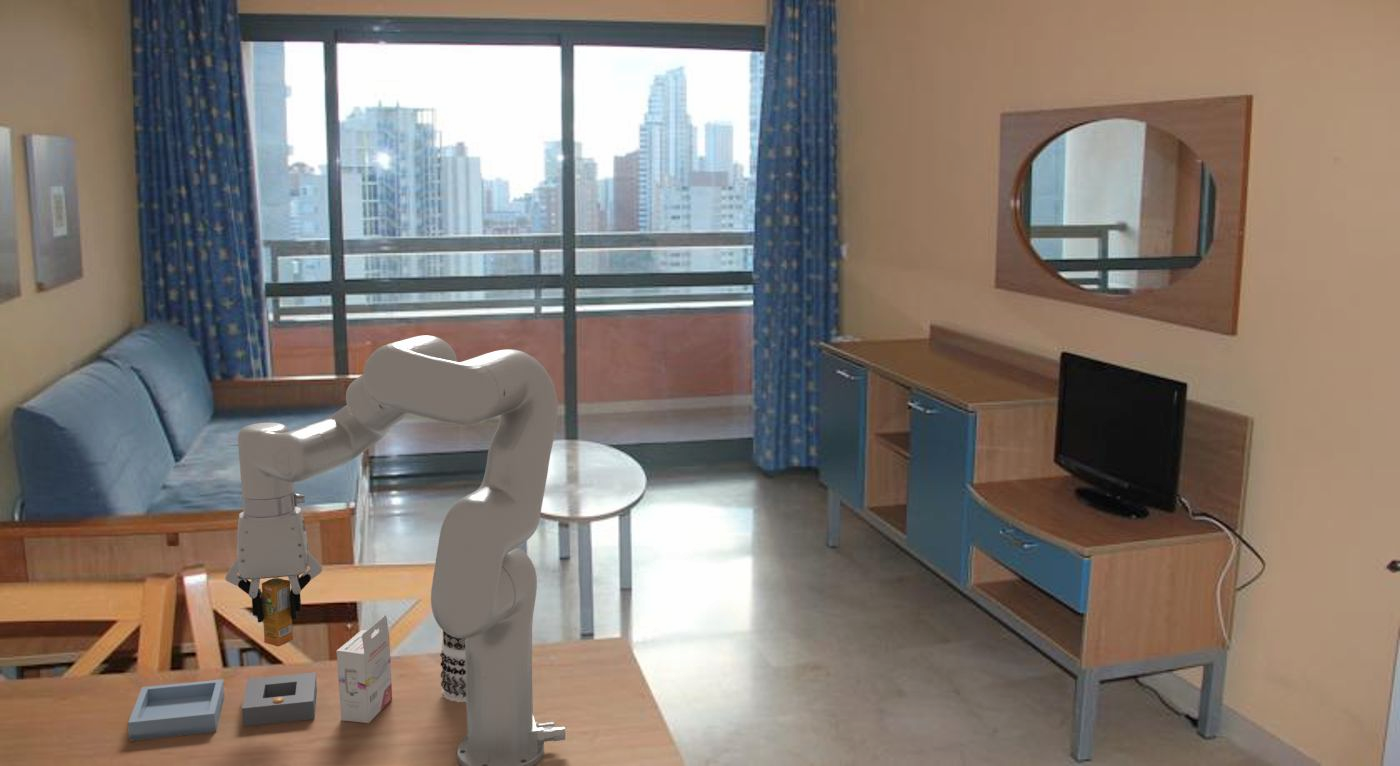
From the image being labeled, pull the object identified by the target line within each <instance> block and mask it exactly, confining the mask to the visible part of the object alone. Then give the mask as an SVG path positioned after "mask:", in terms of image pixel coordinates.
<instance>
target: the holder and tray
mask: <svg viewBox="0 0 1400 766" xmlns="http://www.w3.org/2000/svg"><path fill="white" fill-rule="evenodd" d="M224 684H225V683H224V679H223V678H221V679H213V680H203V681H192V682H191V681H190V682H181V683H170V684H161V685H160V684H159V685H150V686H142V687H141V688H140V692H139V694H138V697H137V699H136V702H135V703H134V707H133V709H132V711H131V714H130V717H129V719H128V723H127V725H128V736H129V741H130V740H136V741H141V740H140V739H143V740H142V741H144V739H145V740H152V739H153V740H154V738H155V739H162V738H172V736H173V737H181V735H183V736H190V735H198V734H208V733H216V732H217V729H218V726H219V725H218V724H219V721H220V716H221V712H222V709H223V706H224V705H223V704H224V700H225V685H224ZM317 687H318V686H317V672H316V671H315V672H306V673H304V672H303V673H296V674H295V673H294V674H285V675H276V676H274V675H273V676H266V677H256V678H247V683H246V687H245V693H244V697H243V701H242V706H241V714H242V716H241V717H242V727H253V726H261V725H269V724H279V723H290V722H297V721H298V722H299V721H309V720H314V719H315V715H316V705H317V704H316V703H317V692H318V688H317ZM179 735H180V736H179Z"/></svg>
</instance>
